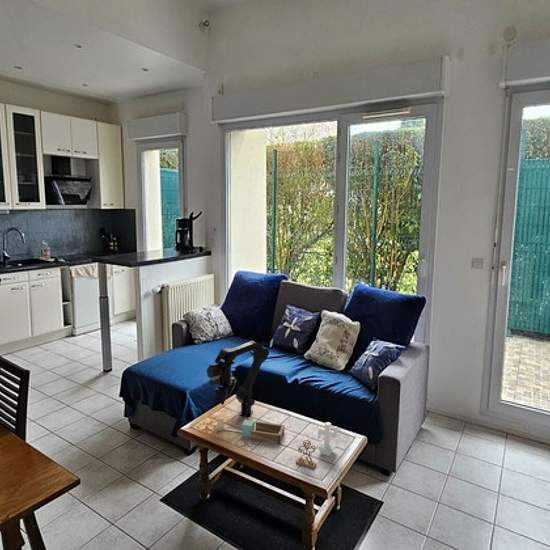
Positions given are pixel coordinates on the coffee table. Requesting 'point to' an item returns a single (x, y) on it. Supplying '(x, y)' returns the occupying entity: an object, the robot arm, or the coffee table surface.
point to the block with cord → (246, 430)
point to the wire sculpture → (306, 462)
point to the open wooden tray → (266, 436)
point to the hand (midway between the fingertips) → (225, 400)
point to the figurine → (327, 439)
